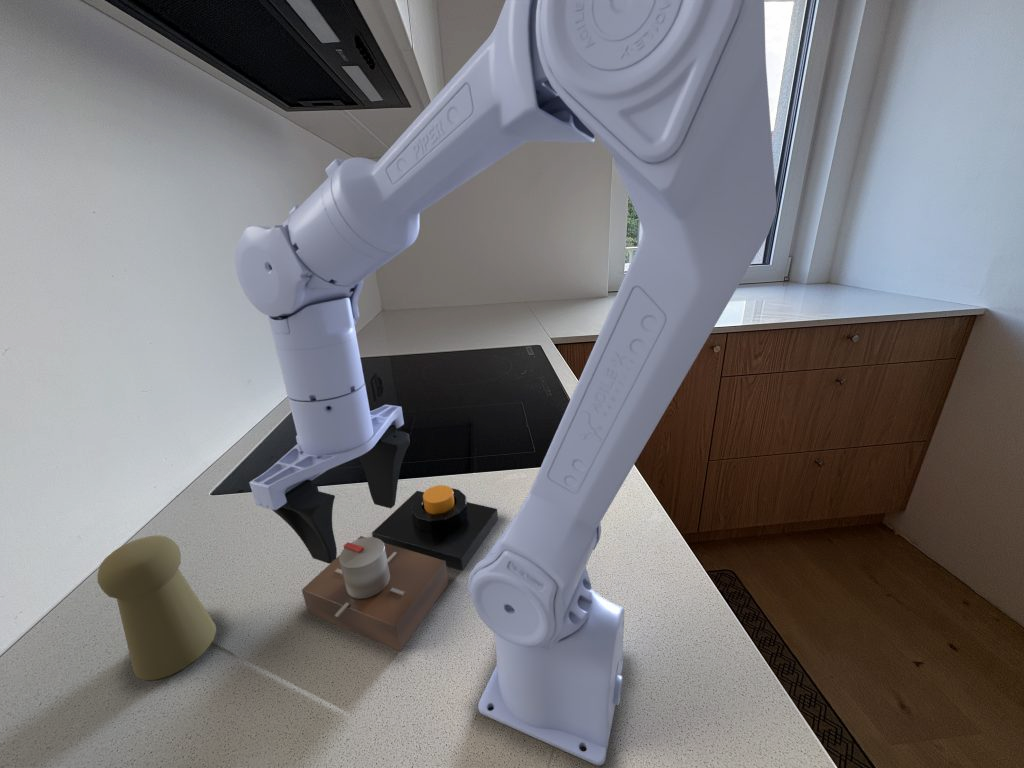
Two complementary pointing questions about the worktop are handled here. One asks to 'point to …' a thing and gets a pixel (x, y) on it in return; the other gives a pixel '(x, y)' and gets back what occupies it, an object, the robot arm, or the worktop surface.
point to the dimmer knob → (364, 567)
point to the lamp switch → (439, 529)
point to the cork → (156, 607)
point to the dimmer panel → (381, 597)
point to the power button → (438, 499)
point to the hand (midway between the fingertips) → (357, 529)
